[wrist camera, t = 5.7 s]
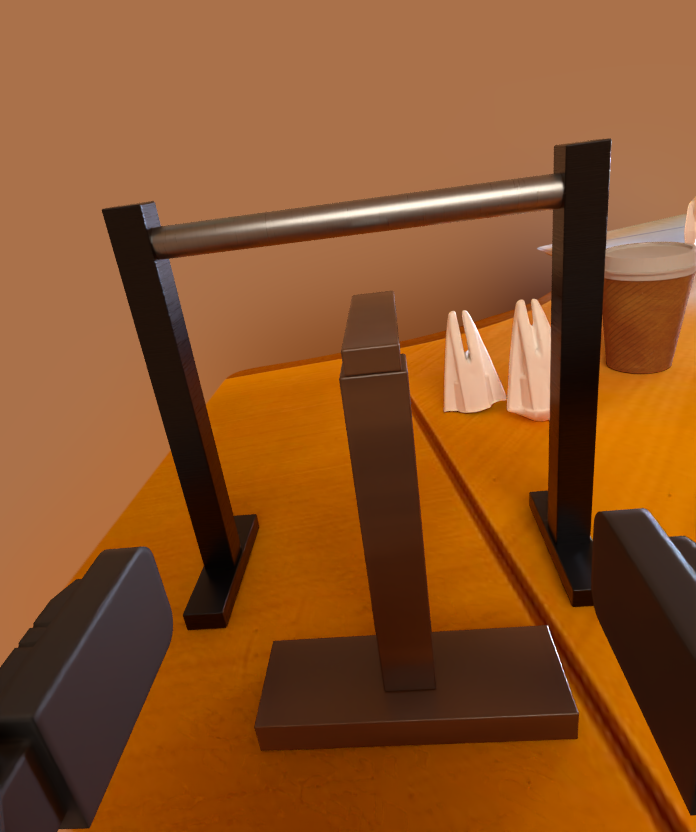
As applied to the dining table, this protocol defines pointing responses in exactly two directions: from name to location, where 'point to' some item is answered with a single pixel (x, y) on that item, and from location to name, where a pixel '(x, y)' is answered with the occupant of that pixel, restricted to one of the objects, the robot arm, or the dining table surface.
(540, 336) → the shaker set
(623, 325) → the disposable coffee cup
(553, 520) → the rack
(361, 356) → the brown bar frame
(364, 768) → the dining table surface
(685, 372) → the dining table surface
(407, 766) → the dining table surface
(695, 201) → the cat figurine
